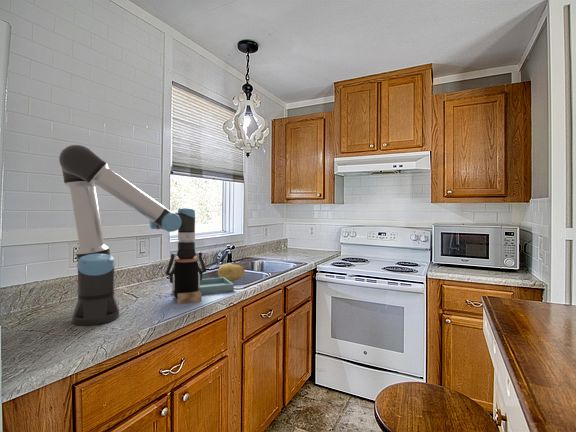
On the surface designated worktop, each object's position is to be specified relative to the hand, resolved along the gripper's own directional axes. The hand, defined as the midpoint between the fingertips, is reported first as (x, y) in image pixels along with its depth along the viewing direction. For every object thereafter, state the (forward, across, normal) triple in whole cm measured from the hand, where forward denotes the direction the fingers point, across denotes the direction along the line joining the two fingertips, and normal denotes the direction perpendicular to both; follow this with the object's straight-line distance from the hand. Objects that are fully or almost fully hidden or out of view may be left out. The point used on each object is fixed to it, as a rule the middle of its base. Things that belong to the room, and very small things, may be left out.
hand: (186, 288), depth 150 cm
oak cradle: (+4, 0, 0) cm, 4 cm away
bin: (+4, +15, +10) cm, 19 cm away
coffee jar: (+4, 0, 0) cm, 4 cm away
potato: (+4, +29, +24) cm, 38 cm away
